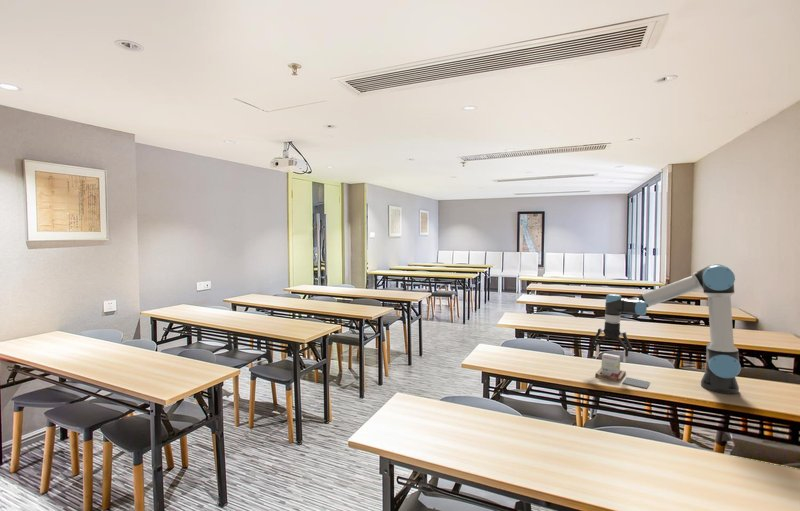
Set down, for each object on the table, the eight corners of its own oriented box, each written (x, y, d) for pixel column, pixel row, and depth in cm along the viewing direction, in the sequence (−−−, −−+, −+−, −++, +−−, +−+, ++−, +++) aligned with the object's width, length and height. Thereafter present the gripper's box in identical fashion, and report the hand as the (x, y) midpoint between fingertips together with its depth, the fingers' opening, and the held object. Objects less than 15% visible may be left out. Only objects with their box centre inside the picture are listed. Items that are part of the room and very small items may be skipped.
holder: (625, 374, 218) (625, 371, 218) (619, 382, 205) (619, 378, 205) (602, 369, 225) (602, 366, 225) (595, 376, 213) (595, 373, 213)
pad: (649, 383, 205) (649, 381, 205) (646, 389, 196) (646, 387, 196) (626, 378, 212) (626, 377, 212) (622, 383, 203) (622, 382, 203)
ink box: (620, 376, 214) (620, 355, 214) (618, 378, 211) (618, 357, 210) (603, 372, 220) (604, 352, 220) (601, 374, 216) (601, 354, 216)
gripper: (639, 324, 209) (637, 362, 210) (590, 317, 225) (588, 353, 226) (637, 326, 203) (635, 366, 204) (586, 319, 219) (584, 355, 220)
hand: (610, 359), depth 215 cm, fingers open, 13 cm apart
